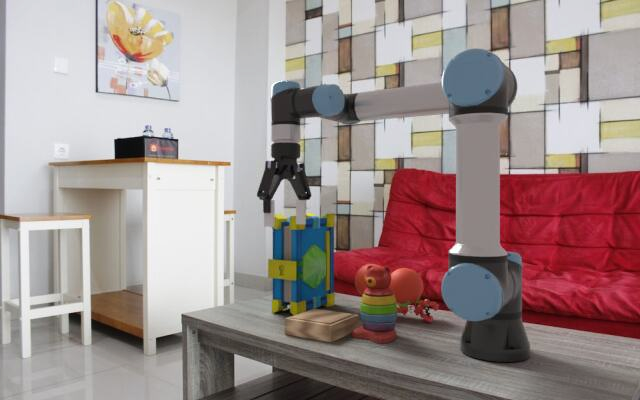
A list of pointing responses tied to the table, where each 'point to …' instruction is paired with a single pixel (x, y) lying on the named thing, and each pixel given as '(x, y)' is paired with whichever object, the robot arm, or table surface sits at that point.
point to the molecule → (402, 290)
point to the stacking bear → (377, 307)
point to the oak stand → (321, 324)
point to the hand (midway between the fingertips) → (285, 225)
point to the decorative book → (302, 263)
